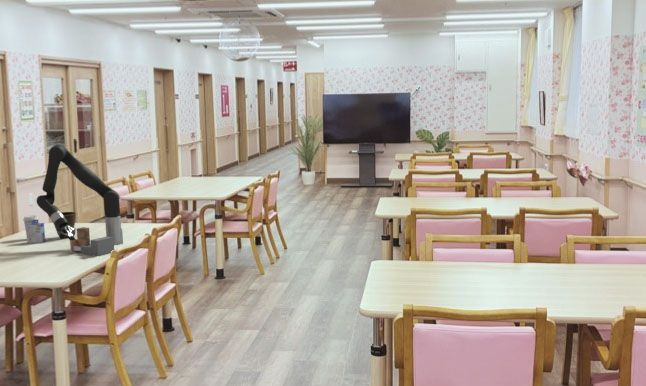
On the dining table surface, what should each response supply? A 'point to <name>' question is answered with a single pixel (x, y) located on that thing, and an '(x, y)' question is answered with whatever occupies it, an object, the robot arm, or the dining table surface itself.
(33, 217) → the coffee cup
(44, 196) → the robot arm
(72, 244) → the dock tray
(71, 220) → the plant pot
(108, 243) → the block
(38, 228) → the ink cartridge box
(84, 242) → the walnut block
